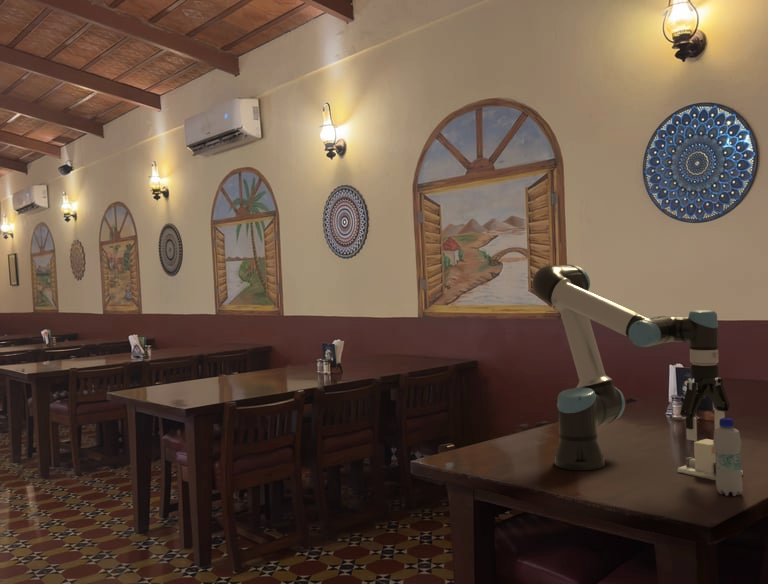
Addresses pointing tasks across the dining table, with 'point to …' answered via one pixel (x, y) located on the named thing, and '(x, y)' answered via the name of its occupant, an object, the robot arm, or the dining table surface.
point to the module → (704, 455)
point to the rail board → (691, 470)
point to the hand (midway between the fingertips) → (706, 436)
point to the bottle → (728, 458)
